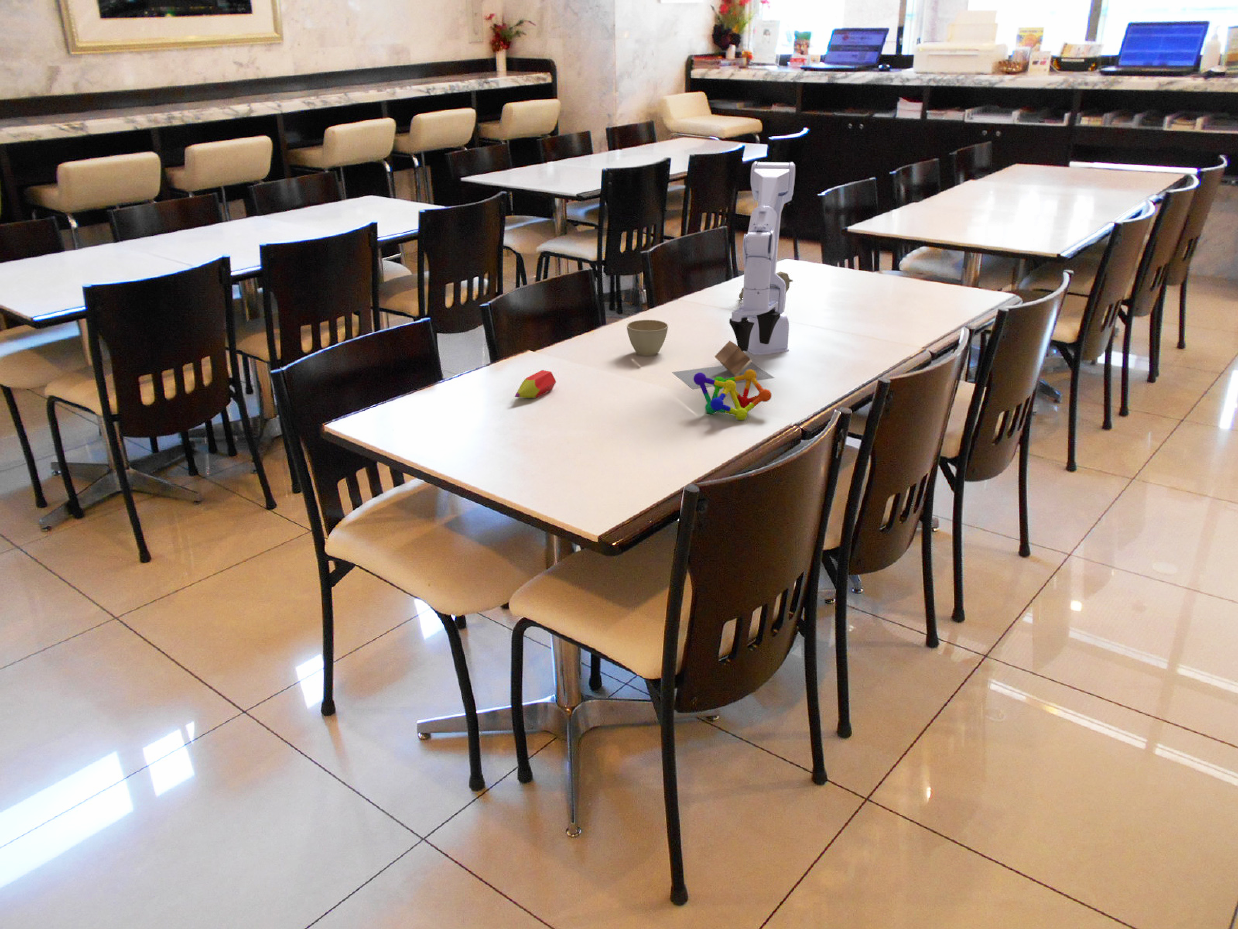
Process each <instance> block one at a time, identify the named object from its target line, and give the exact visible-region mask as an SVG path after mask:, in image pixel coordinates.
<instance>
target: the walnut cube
mask: <svg viewBox="0 0 1238 929" xmlns="http://www.w3.org/2000/svg"><path fill="white" fill-rule="evenodd" d="M714 358H715V359H716V360H717V361H718V362H719V363H720V364H721V366H724V367H725V368H726V369H727V370H728V371H729V372H731V373H732V374H733V375H735V376H738V375H739V374H740V373H741V372H742V371H743V370H744V369H745V368H746V367H747V366H748V365H749V364H750V363H751V362H752V363H753V360H752V359H751V358H750V357H749V356H748V355H747V353H746V352H744V351H741V348H740V347H738V345H737V344H736V343H735V342H733V341H731V340H728V342H727V343H726V344H725V345H724V346H723V347H722V348H721V349H720V350H719V351H718V353H716V355H715V356H714Z"/></svg>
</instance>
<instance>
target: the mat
mask: <svg viewBox="0 0 1238 929" xmlns="http://www.w3.org/2000/svg"><path fill="white" fill-rule="evenodd" d="M749 369H751V370H754V371H755V372H756V374H757V377H756V380H757V381H761V380H768V379H775V377H774V376H773V375H772V374H770V373H768V372H766V370H764V369H762V368H761V367H759V366H758V365H756V364H755V363H753V361H752V362H751V363H750V364H749V365H748V366H747V367H746V368H745V369H744V370H743V371H742V372H741V373H740V374H739V375H738V376H740V375H744V373H745V372H746V371H747V370H749ZM699 372H700V373H703V374H705V376H706V378H710V379H715V378H716V377H722V378H724V379H728V378H732V377H736V376H735V375H733V374H732V373H731V372H729V371H728V370H727V369H726V368H725V367H724V366H723V365H717V366H709V367H702V368H693V369H687V370H678V371H672V374H673V375H674V376H676V377H677V378H678V379H680V380H681V382H683V383H684V384H686V385H687V386H688V387H689V388H691V389H692V390H697V389H701V387H700V385H697V384H696V383H695V382H694V376H695V374H697V373H699ZM735 383H736V384H739V383H746V380H741V381H736V382H735ZM705 386H706V388H711V387H714V386H713V385H712V384H708V383H705Z"/></svg>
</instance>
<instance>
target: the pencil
mask: <svg viewBox="0 0 1238 929" xmlns="http://www.w3.org/2000/svg"><path fill="white" fill-rule="evenodd" d="M556 383H557V380H556V378H555V377H554V375H553V372H552V371H548V370H544V369H541V370H540V371H537V372H535V373H533V374H531V375H529V376H527V377H526V378H524V380H523V381H522V382H521V384H520V386H519V388H518V389H517V392H516V393H515V395H514V397H515V398H525V399H536V398H538V397H540V396H542V395H545V394H546V393H548V392H550V391H552V390H553V389H554V387H555V385H556Z"/></svg>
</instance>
